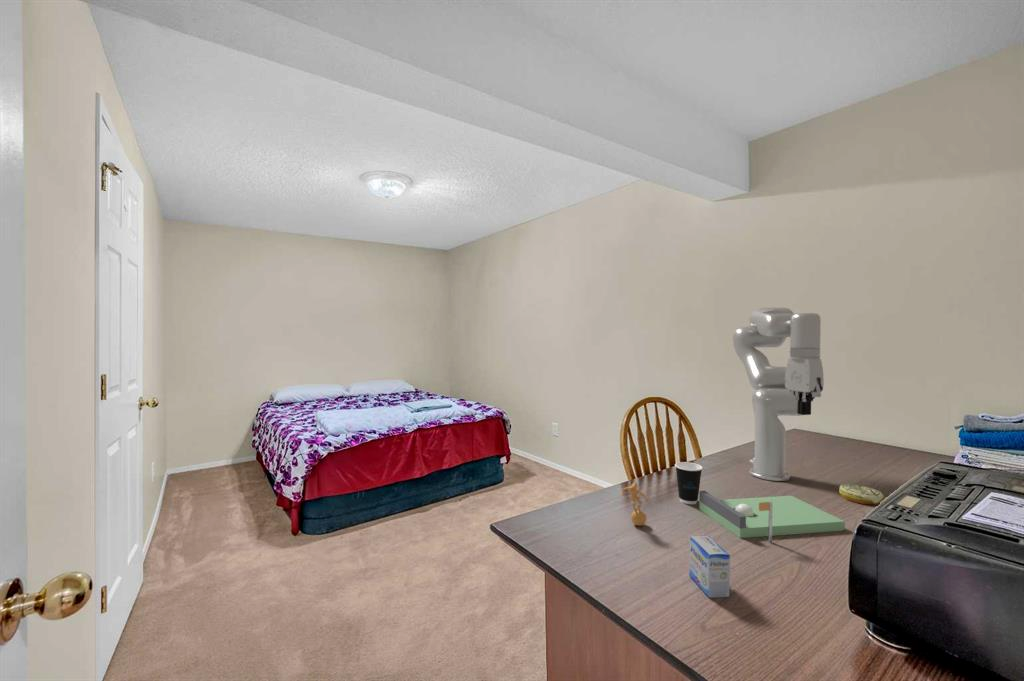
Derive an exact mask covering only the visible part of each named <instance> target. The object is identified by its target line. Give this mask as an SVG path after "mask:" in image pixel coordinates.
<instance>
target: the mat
mask: <svg viewBox="0 0 1024 681" xmlns="http://www.w3.org/2000/svg"><path fill="white" fill-rule="evenodd" d="M698 500H699V505H698V506H699V508H698V509H699V510H700V511H701V512H703V513H704V514H705V515H707V516H708V517H710V518H711V519H712V520H713V521H715V522H717V523H718V524H719V525H721V526H722V527H724V528H725V529H726V530H728V531H729V532H731V533H732V534H733V535H735V536H737V538H739V539H745V538H746V539H747V538H759V537H768V521H769V510H768V511H759V503H761V502H769V501H770V502H772V537H774V536H775V537H776V536H786V535H787V536H788V535H799V534H800V535H802V534H814V533H828V532H843V530H846V528H845V527H846V521H845V520H842V519H840V518H839V517H836V516H835V515H833V514H831V513H828V512H826V511H824V510H822V509H820V508H819V507H817V506H814V505H812V504H810V503H808V502H806V501H803V500H801V499H799V498H797V497H796V496H793V495H781V496H778V495H777V496H763V497H749V498H748V497H747V498H727V499H719V498H717V497H716V496H714V495H712V494H711V493H709V492H708V491H706V490H699V494H698ZM739 504H747V505H749V506H750V507H751V508H752V510H753V512H754V516H753V517H746V516H744V515H743V514H741V513H740V512H738V511H736V510H735V508H736V507H737V506H738V505H739Z"/></svg>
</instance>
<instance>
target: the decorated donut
mask: <svg viewBox="0 0 1024 681" xmlns="http://www.w3.org/2000/svg"><path fill="white" fill-rule="evenodd" d="M838 491H839V494H840V495H841V497H842V498H844V499H845V500H847V501H850V502H853V503H856V504H861V505H873V506H878V505H880V504H879V503H880V502H881V501H882V500H883V501H884V497H885V496H884V494H883V493H882V492H881V491H880V490H878V489H875V488H872V487H869V486H865V485H862V484H855V483H845V484H840V486H839V488H838Z"/></svg>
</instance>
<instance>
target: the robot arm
mask: <svg viewBox="0 0 1024 681" xmlns="http://www.w3.org/2000/svg"><path fill="white" fill-rule="evenodd" d="M748 320H749V321H748V322H749V323H750V325H747V326H742V327H739V328H737V329H735V331H734V332H733V334H732V341H733V342H732V343H733V347H734V351H735V353H736V355H737V356H738V358H739V360H740V361H741V362H742V363H743V366H744V369H745V372H746V375H747V378H748V381H749V383H750V385H751V387H752V388H753V389H754V390H755V391H754V392H753V394H752V397H751V401H752V408H753V414H754V457H753V458H752V459H750V460H749V463H750V464H752V467H751V468H750V469H749V474H750V475H751V476H753V477H755V478H759V479H762V480H765V481H772V482H785V481H789V480H790V479H791V474H790V473H789V472H786V428H785V424H784V423H783V422H782V421H781V420H780V419H779V416H789V417H790V416H791V417H792V416H795V417H799V416H809V415H812V402H814V399H816V398H821V397H822V392H823V390H824V385H825V384H824V383H825V382H824V380H825V379H824V369H823V368H824V367H823V363H822V359H821V322H822V321H821V316H820V315H819V314H818V313H814V312H802V313H801V312H798V313H794V312H793V310H791V309H790V308H788V307H761V308H760V307H759V308H756V309H754V310H753V311H752V312H751V313H750V315H749V319H748ZM787 338H790V339H789V340H790V341H789V342H790V345H789V346H790V347H789V349H790V350H789V357H788V359H787V363H786V366H776V365H775V366H773V365H771V364H770V360H769V359H768V357H767V356H766V355H765V354H764V353H763V352H761V351H760V350H759V349H757V348H779V347H781V346H782V345H783V344H784V342H785V341H786V340H787Z"/></svg>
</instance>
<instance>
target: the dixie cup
mask: <svg viewBox="0 0 1024 681" xmlns="http://www.w3.org/2000/svg"><path fill="white" fill-rule="evenodd" d="M674 467H675V471H676V472H675V473H676V482H677V489H678V490H677V491H678V498H679V501H680V502H681V503H682V504H685V505H696V504H697V503H698V500H699V495H700V486H701V477H702V470H703V466H702V465H701V464H698V463H695V462H688V461H680V462H679V461H678V462H676V463H675V464H674Z"/></svg>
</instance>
